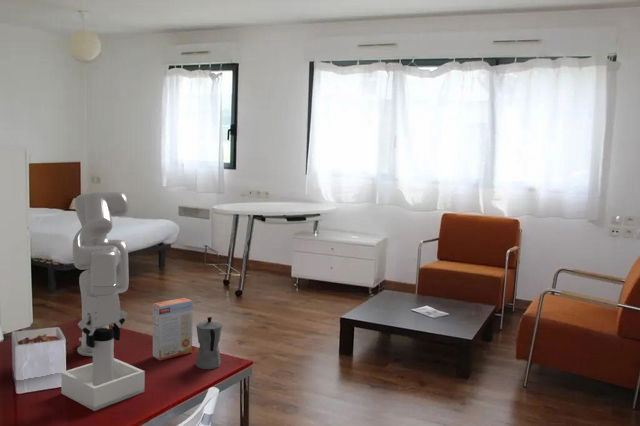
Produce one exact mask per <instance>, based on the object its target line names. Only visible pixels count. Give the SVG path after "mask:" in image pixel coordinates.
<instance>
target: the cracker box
mask: <svg viewBox="0 0 640 426" xmlns="http://www.w3.org/2000/svg"><path fill="white" fill-rule="evenodd" d="M193 304H194V302H193V300H191V299H190V298H187V297H181V298H175V299H171V300H170V299H169V300H164V301H159V302H154V303H152V357H153V358H154V359H157V360H158V361H164V360H168V359H172V358H176V357H180V356H184V355H188V354H192V353H193V309H194V307H193Z"/></svg>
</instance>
